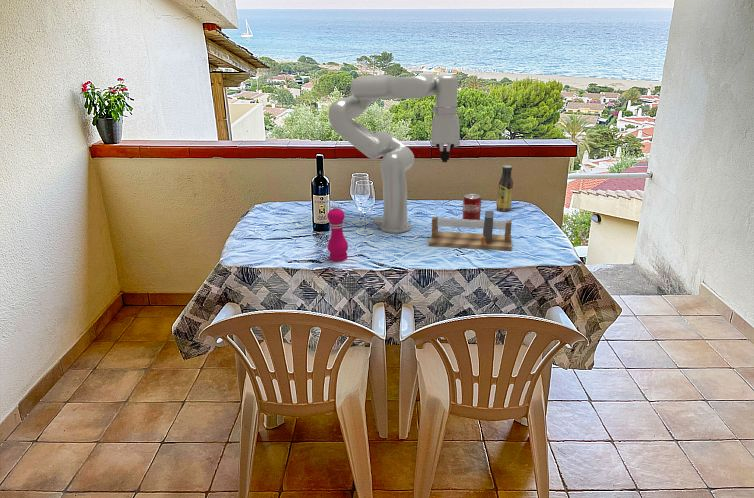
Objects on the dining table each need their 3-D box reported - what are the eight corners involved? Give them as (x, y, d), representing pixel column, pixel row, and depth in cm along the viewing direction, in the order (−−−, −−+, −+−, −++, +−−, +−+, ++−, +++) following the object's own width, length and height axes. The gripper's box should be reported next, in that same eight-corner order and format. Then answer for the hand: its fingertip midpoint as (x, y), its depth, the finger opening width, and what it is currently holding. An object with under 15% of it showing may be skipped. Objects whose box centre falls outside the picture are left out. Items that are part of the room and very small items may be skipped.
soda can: (479, 227, 211) (481, 199, 207) (461, 226, 213) (462, 198, 208) (480, 221, 218) (481, 193, 213) (462, 220, 219) (463, 193, 215)
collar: (483, 238, 190) (484, 217, 187) (484, 230, 197) (485, 210, 194) (491, 238, 189) (493, 217, 186) (492, 231, 197) (493, 211, 193)
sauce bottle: (493, 208, 233) (496, 165, 226) (506, 207, 235) (509, 163, 227) (501, 212, 227) (504, 168, 220) (513, 211, 229) (517, 166, 222)
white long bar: (437, 226, 195) (437, 220, 194) (437, 223, 197) (438, 217, 196) (505, 229, 190) (505, 223, 189) (505, 227, 192) (505, 221, 191)
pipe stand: (428, 245, 194) (428, 223, 190) (432, 234, 205) (433, 212, 201) (511, 250, 187) (513, 227, 184) (511, 239, 198) (512, 216, 195)
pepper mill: (348, 254, 189) (346, 201, 181) (348, 261, 182) (345, 207, 174) (328, 254, 188) (325, 202, 181) (327, 262, 182) (324, 208, 174)
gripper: (424, 112, 185) (423, 163, 192) (466, 112, 182) (464, 164, 189) (426, 109, 192) (426, 158, 199) (467, 109, 189) (465, 159, 195)
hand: (444, 161), depth 194 cm, fingers closed
